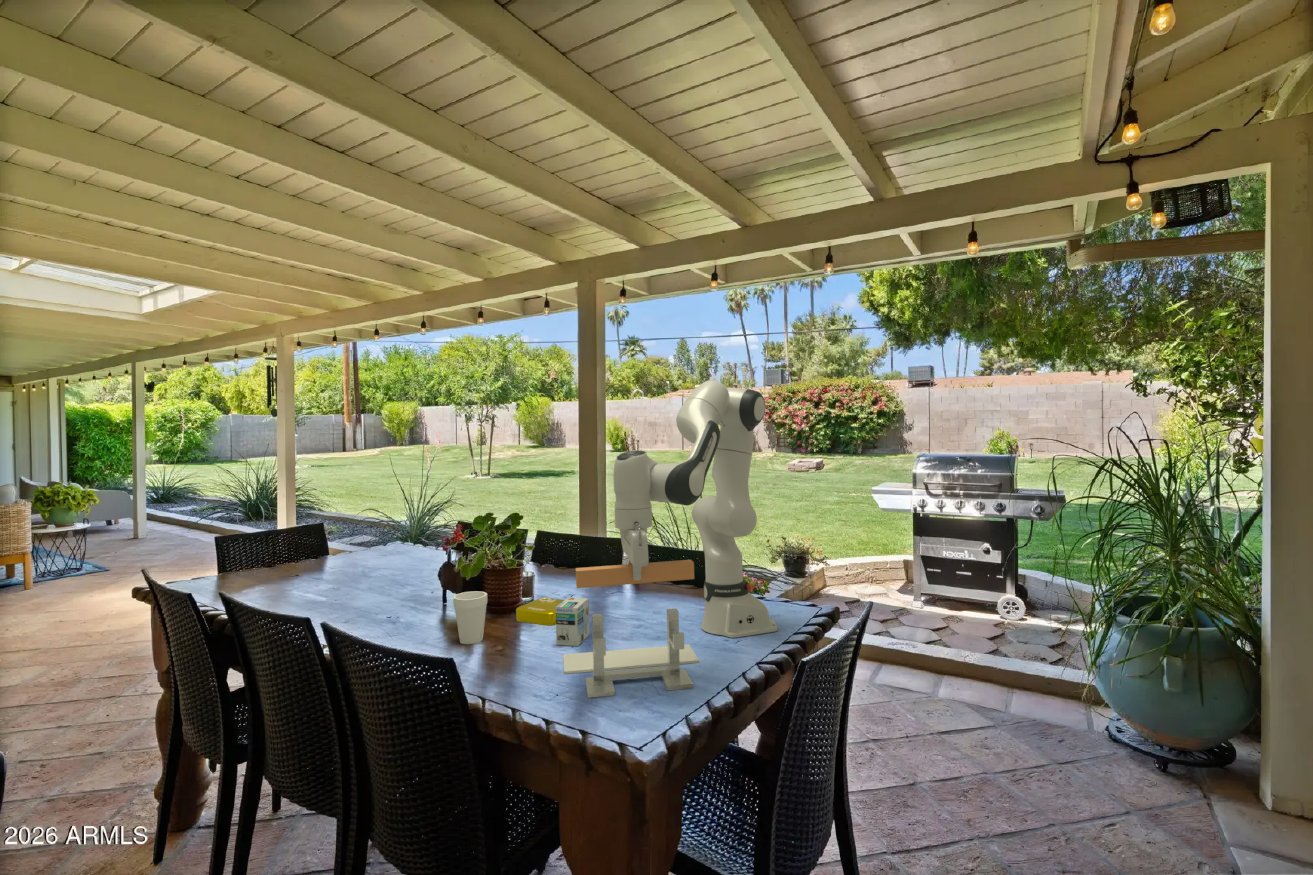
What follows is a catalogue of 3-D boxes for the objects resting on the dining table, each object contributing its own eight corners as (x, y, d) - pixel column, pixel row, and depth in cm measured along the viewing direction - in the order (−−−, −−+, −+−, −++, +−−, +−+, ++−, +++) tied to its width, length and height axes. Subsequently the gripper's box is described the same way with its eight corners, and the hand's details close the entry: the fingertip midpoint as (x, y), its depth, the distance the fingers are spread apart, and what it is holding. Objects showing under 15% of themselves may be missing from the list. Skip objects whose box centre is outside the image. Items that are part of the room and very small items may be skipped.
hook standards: (684, 673, 149) (683, 607, 148) (693, 688, 140) (691, 618, 140) (585, 681, 145) (584, 614, 144) (587, 697, 136) (586, 626, 136)
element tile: (513, 622, 194) (513, 607, 194) (542, 609, 207) (542, 595, 207) (552, 627, 187) (552, 612, 187) (579, 614, 201) (579, 599, 201)
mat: (688, 646, 167) (688, 644, 167) (699, 662, 155) (699, 660, 155) (563, 656, 161) (563, 654, 161) (564, 674, 150) (564, 671, 150)
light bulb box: (578, 646, 169) (577, 608, 169) (555, 645, 170) (554, 607, 170) (590, 634, 179) (589, 597, 179) (568, 633, 181) (567, 596, 181)
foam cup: (494, 639, 176) (493, 594, 176) (465, 648, 169) (464, 601, 169) (477, 633, 182) (476, 589, 182) (448, 641, 176) (447, 596, 176)
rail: (691, 575, 149) (690, 559, 149) (694, 579, 146) (693, 562, 146) (576, 584, 144) (575, 568, 144) (576, 588, 141) (576, 571, 141)
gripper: (654, 525, 135) (656, 587, 135) (640, 513, 155) (642, 567, 156) (625, 527, 134) (628, 589, 134) (615, 514, 154) (617, 568, 155)
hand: (635, 577), depth 145 cm, fingers closed on rail, 3 cm apart
